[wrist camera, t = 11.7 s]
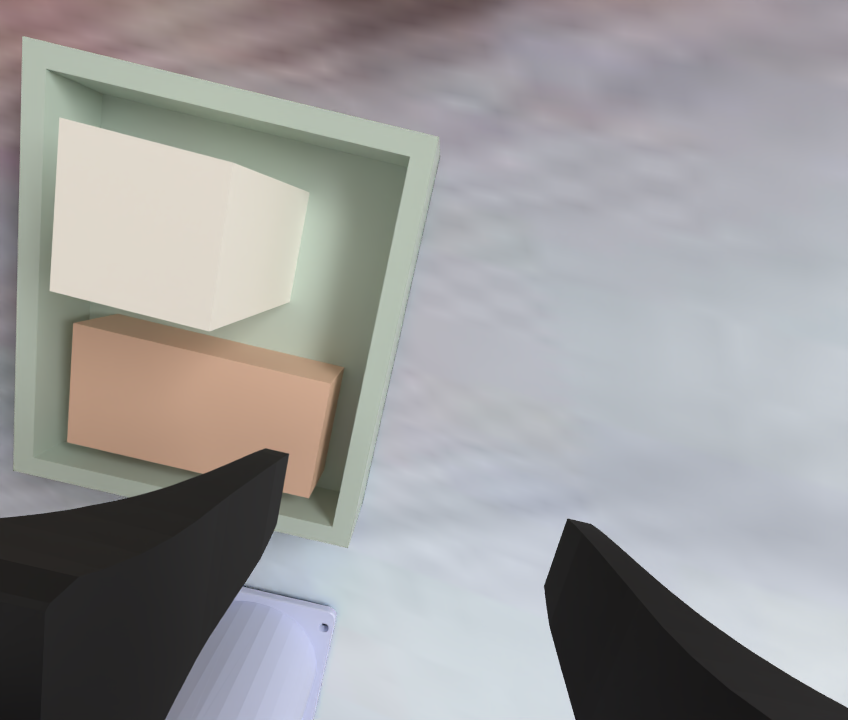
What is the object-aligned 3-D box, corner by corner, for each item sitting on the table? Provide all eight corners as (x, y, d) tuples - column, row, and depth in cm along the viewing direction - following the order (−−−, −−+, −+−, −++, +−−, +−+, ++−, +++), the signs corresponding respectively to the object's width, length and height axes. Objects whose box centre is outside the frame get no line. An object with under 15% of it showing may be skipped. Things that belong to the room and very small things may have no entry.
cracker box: (324, 469, 22) (308, 498, 19) (109, 420, 22) (67, 442, 19) (344, 367, 20) (330, 383, 18) (117, 313, 20) (72, 323, 18)
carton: (289, 302, 20) (209, 331, 13) (185, 275, 20) (49, 291, 13) (309, 192, 19) (233, 162, 12) (199, 163, 19) (59, 117, 12)
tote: (362, 503, 23) (347, 548, 19) (77, 437, 23) (13, 470, 19) (439, 156, 19) (438, 137, 16) (98, 73, 19) (22, 35, 15)
